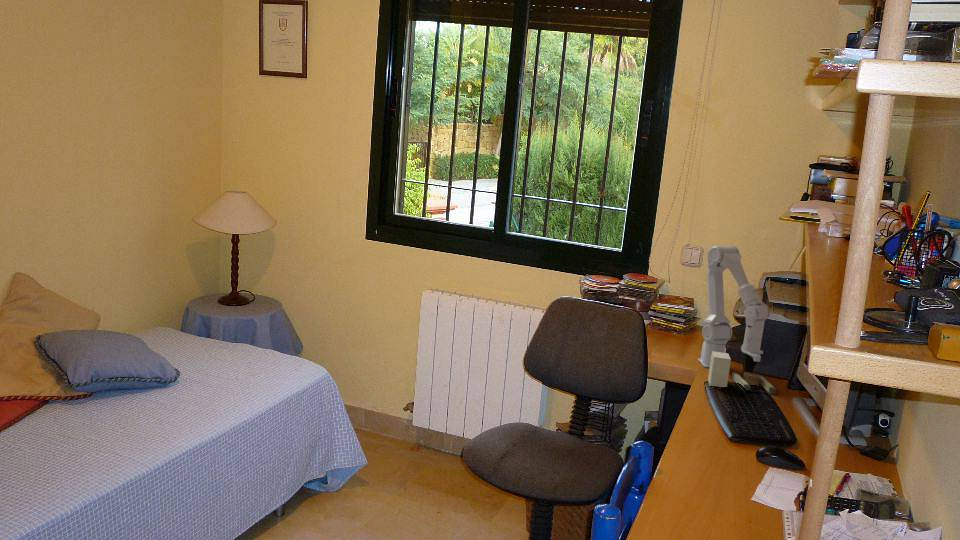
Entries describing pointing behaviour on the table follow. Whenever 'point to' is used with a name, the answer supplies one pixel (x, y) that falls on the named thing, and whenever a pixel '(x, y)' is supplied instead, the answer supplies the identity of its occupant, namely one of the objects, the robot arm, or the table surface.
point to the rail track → (762, 382)
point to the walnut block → (751, 378)
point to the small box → (719, 369)
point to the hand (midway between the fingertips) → (747, 375)
